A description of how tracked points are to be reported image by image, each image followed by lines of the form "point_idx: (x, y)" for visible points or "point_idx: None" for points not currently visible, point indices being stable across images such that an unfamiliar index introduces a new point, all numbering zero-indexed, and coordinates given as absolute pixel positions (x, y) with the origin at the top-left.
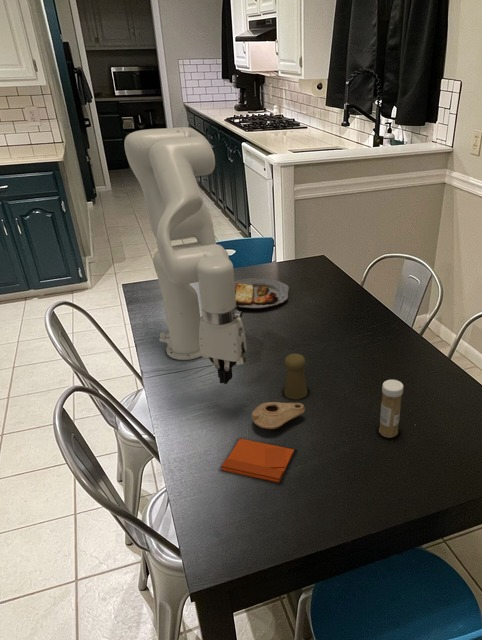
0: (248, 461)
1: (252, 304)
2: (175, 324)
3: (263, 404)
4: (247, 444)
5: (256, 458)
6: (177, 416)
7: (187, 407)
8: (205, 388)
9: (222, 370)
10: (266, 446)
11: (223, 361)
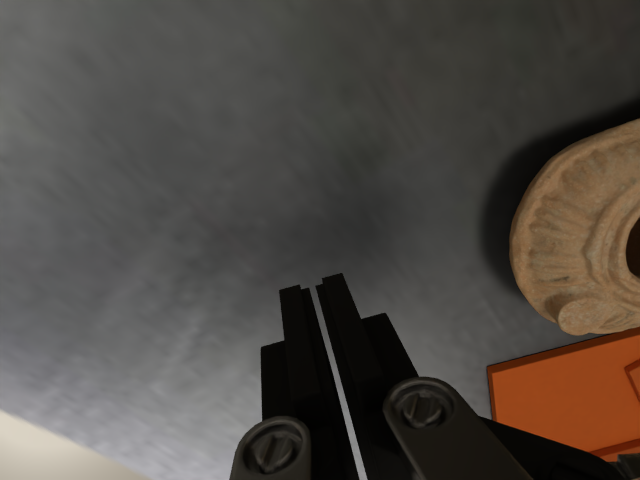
0: (582, 442)
1: None
2: None
3: (602, 244)
4: (539, 383)
5: (604, 418)
6: (121, 397)
7: (100, 327)
8: (19, 133)
9: (357, 475)
10: (618, 353)
11: (317, 467)
